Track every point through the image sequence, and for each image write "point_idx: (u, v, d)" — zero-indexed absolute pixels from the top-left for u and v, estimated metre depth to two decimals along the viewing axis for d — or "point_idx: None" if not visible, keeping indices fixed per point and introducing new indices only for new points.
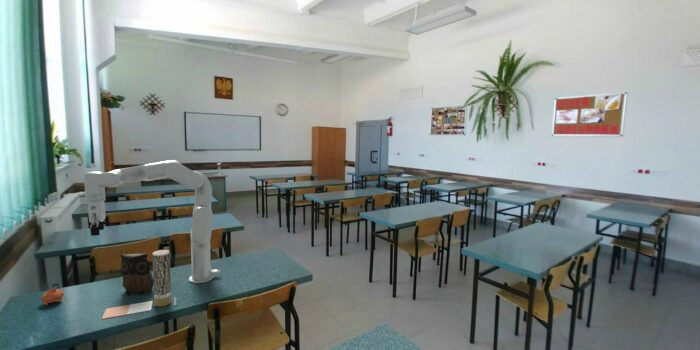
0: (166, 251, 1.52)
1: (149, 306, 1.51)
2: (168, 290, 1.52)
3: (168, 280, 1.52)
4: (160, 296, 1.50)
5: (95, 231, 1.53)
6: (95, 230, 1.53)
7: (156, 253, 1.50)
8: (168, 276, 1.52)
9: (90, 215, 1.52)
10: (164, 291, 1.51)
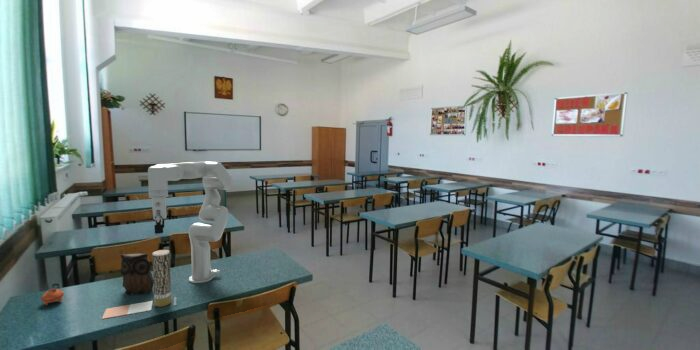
0: (166, 251, 1.52)
1: (149, 306, 1.51)
2: (168, 290, 1.52)
3: (168, 280, 1.52)
4: (160, 296, 1.50)
5: (159, 229, 1.45)
6: (159, 228, 1.45)
7: (156, 253, 1.50)
8: (168, 276, 1.52)
9: (154, 212, 1.44)
10: (164, 291, 1.51)
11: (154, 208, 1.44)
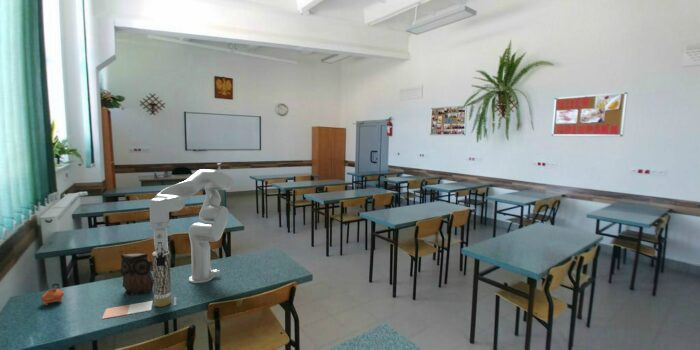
0: (166, 251, 1.52)
1: (149, 306, 1.51)
2: (168, 290, 1.52)
3: (168, 280, 1.52)
4: (160, 296, 1.50)
5: (161, 261, 1.48)
6: (161, 260, 1.47)
7: (156, 253, 1.50)
8: (168, 276, 1.52)
9: (156, 244, 1.46)
10: (164, 291, 1.51)
11: (156, 240, 1.46)
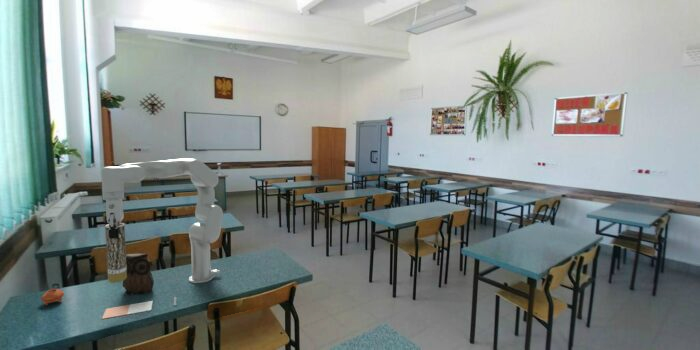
0: (121, 224, 1.43)
1: (149, 306, 1.51)
2: (123, 265, 1.43)
3: (123, 254, 1.43)
4: (113, 271, 1.41)
5: (114, 233, 1.38)
6: (114, 232, 1.38)
7: None
8: (123, 250, 1.43)
9: (108, 215, 1.36)
10: (118, 266, 1.42)
11: (107, 211, 1.36)
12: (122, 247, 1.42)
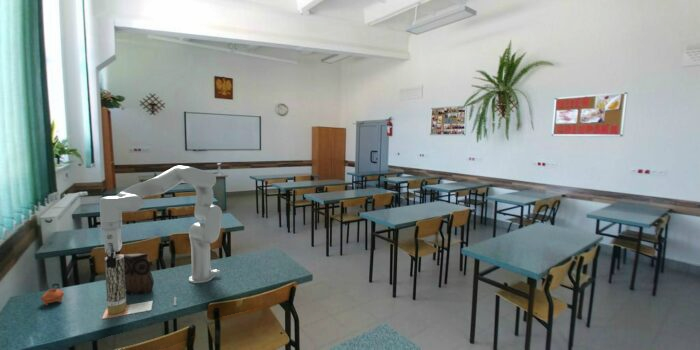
0: (120, 255, 1.45)
1: (149, 306, 1.51)
2: (122, 297, 1.45)
3: (122, 286, 1.44)
4: (113, 303, 1.42)
5: (112, 263, 1.38)
6: (112, 262, 1.38)
7: None
8: (122, 282, 1.44)
9: (106, 245, 1.37)
10: (117, 298, 1.43)
11: (106, 241, 1.37)
12: (121, 279, 1.44)
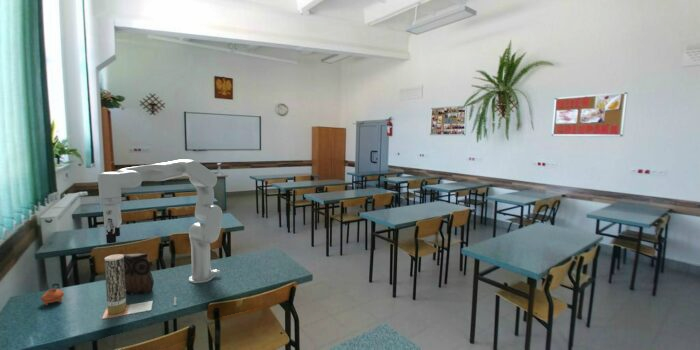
0: (120, 256, 1.45)
1: (149, 306, 1.51)
2: (122, 297, 1.45)
3: (122, 286, 1.44)
4: (113, 303, 1.42)
5: (111, 238, 1.37)
6: (111, 237, 1.37)
7: (108, 258, 1.42)
8: (122, 282, 1.44)
9: (105, 221, 1.36)
10: (117, 298, 1.43)
11: (105, 217, 1.36)
12: (121, 279, 1.44)
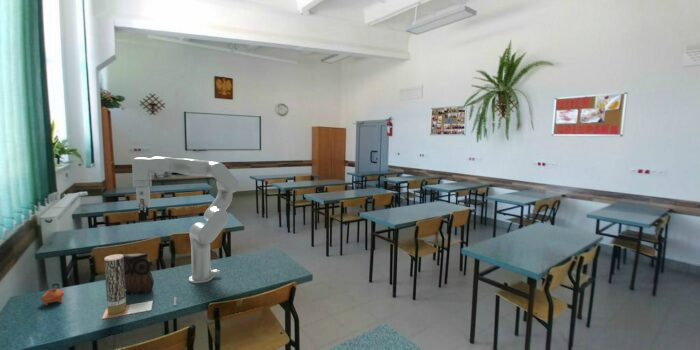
0: (120, 256, 1.45)
1: (149, 306, 1.51)
2: (122, 297, 1.45)
3: (122, 286, 1.44)
4: (113, 303, 1.42)
5: (143, 216, 1.54)
6: (143, 215, 1.54)
7: (108, 258, 1.42)
8: (122, 282, 1.44)
9: (138, 200, 1.53)
10: (117, 298, 1.43)
11: (138, 197, 1.53)
12: (121, 279, 1.44)
